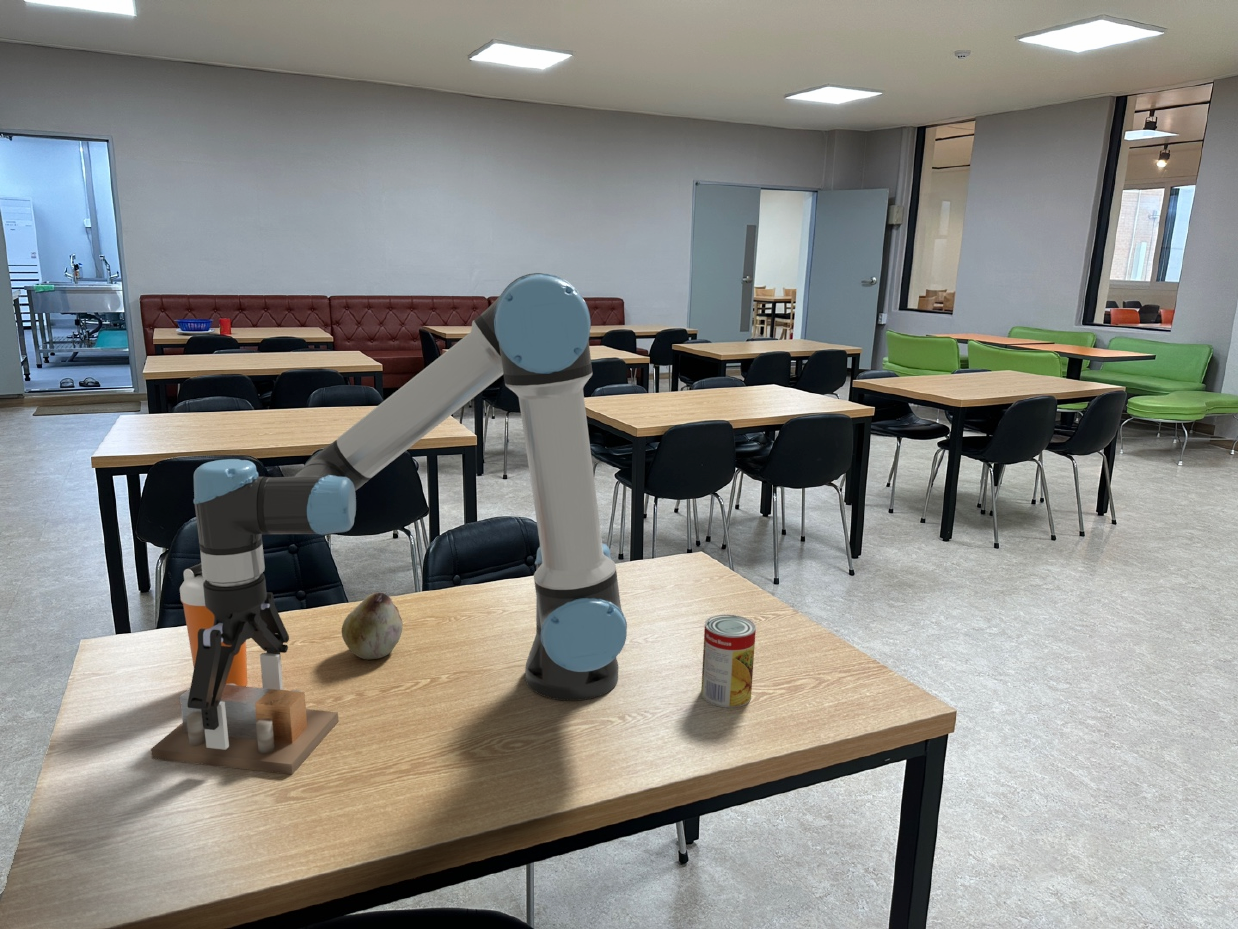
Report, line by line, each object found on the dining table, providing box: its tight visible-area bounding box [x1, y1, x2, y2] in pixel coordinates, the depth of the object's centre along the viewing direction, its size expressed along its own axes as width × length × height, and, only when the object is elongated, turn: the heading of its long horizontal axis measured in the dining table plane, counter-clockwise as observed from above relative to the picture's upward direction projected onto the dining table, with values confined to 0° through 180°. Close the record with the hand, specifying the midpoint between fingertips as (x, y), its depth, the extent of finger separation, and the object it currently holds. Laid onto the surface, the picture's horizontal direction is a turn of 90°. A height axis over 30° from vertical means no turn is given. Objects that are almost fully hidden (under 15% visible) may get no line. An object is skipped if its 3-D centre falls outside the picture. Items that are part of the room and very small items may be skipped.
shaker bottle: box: [179, 562, 248, 687], centre depth 127 cm, size 9×9×20 cm
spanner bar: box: [179, 685, 307, 744], centre depth 115 cm, size 16×4×6 cm, turn 82°
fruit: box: [341, 592, 404, 660], centre depth 140 cm, size 10×9×12 cm
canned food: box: [700, 614, 757, 709], centre depth 130 cm, size 8×8×12 cm
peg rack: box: [150, 683, 339, 775], centre depth 115 cm, size 20×13×6 cm, turn 82°
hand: (247, 720), depth 115 cm, fingers open, 13 cm apart
